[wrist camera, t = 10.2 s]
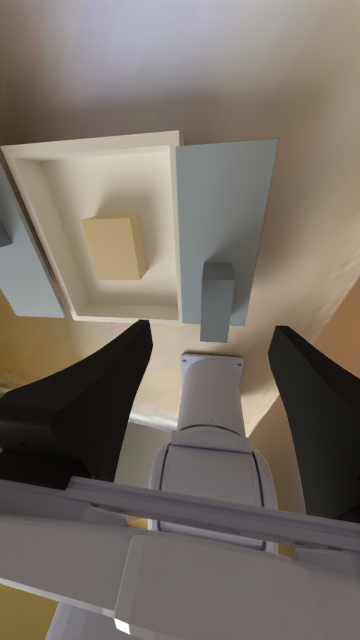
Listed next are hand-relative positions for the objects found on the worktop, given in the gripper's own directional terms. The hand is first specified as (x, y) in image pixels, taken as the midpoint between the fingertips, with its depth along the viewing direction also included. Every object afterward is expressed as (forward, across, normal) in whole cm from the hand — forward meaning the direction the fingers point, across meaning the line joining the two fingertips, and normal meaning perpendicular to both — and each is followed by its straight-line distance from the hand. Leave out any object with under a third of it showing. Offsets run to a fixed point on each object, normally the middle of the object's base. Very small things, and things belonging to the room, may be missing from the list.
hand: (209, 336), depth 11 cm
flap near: (+6, 0, -3) cm, 7 cm away
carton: (+9, +8, -3) cm, 13 cm away
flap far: (+6, +17, -3) cm, 19 cm away
